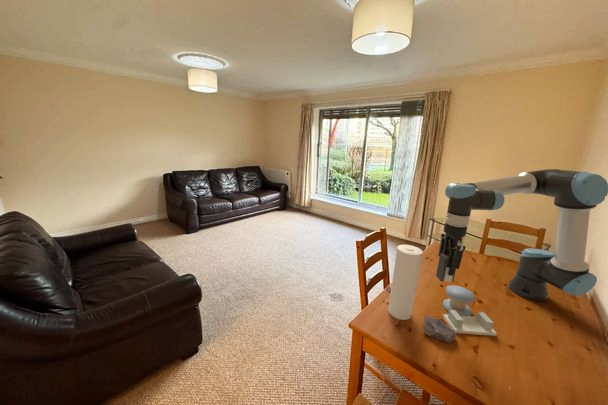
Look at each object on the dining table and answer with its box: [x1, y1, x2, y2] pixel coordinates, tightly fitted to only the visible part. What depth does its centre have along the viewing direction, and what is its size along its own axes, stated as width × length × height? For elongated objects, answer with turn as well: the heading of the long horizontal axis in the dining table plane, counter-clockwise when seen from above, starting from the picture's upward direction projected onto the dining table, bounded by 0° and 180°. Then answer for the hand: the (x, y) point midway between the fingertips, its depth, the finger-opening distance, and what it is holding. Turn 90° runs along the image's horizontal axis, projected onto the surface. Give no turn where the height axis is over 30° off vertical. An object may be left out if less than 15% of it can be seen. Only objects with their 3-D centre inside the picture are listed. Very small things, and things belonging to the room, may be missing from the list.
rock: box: [422, 316, 457, 343], centre depth 95 cm, size 8×11×5 cm
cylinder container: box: [387, 244, 424, 321], centre depth 103 cm, size 9×9×30 cm
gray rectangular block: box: [435, 253, 457, 283], centre depth 100 cm, size 5×4×10 cm
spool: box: [442, 284, 476, 316], centre depth 110 cm, size 11×11×8 cm
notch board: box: [442, 310, 497, 337], centre depth 100 cm, size 16×9×5 cm, turn 87°
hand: (444, 278), depth 101 cm, fingers closed on gray rectangular block, 4 cm apart
